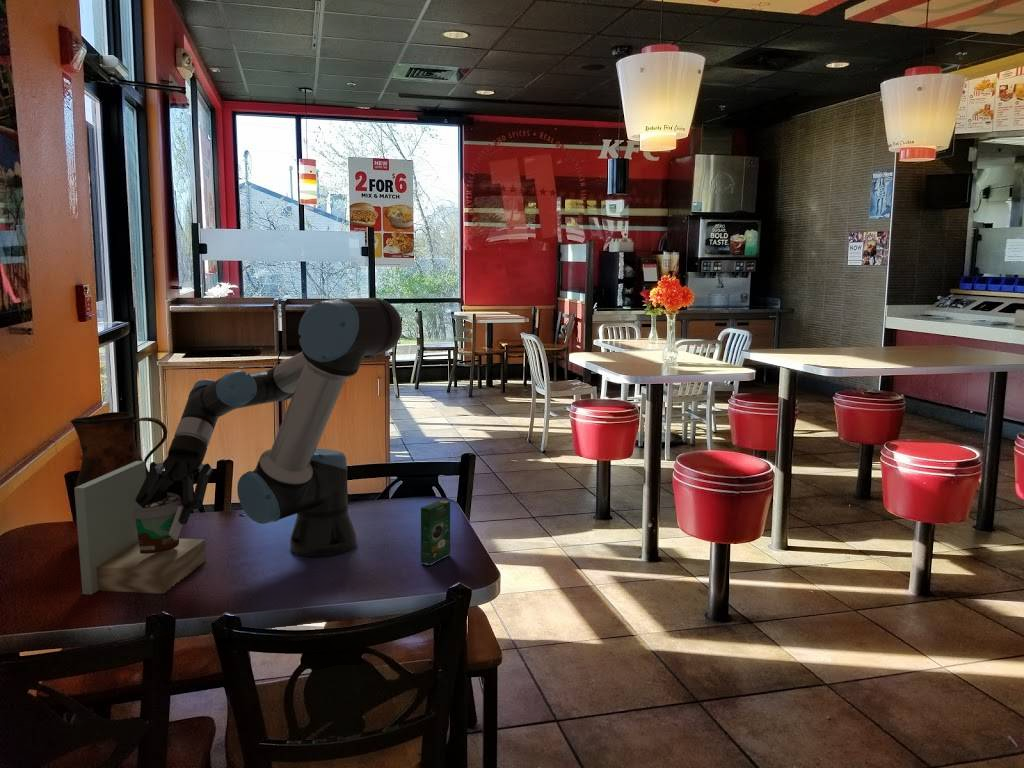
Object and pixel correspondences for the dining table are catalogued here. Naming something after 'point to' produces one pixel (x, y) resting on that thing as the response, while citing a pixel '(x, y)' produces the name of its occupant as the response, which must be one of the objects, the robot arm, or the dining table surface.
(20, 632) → the dining table surface
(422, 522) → the coffee box
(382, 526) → the dining table surface
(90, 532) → the wall board
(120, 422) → the pitcher
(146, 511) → the food container
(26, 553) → the dining table surface
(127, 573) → the block
